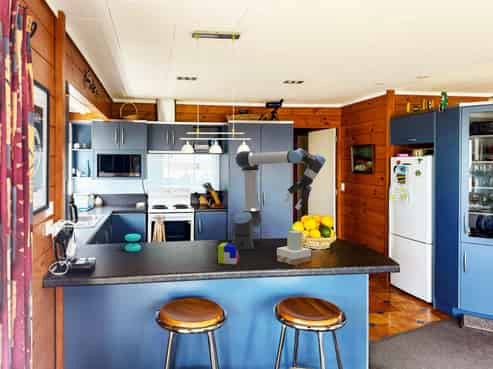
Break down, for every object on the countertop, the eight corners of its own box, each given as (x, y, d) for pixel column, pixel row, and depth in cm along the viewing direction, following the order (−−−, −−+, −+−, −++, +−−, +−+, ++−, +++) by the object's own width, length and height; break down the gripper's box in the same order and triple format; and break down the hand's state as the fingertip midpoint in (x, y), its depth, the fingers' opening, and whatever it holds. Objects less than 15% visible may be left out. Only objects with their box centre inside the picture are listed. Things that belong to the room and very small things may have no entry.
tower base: (277, 261, 242) (277, 254, 242) (293, 258, 252) (293, 251, 251) (294, 266, 232) (295, 259, 232) (310, 262, 241) (311, 255, 241)
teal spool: (124, 233, 268) (139, 233, 272) (124, 249, 269) (139, 248, 273) (125, 236, 259) (141, 235, 263) (125, 252, 260) (141, 251, 263)
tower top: (276, 254, 243) (277, 248, 242) (293, 251, 251) (294, 245, 251) (293, 259, 232) (293, 252, 231) (310, 256, 240) (311, 249, 240)
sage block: (287, 248, 242) (287, 231, 241) (295, 247, 245) (295, 230, 244) (293, 250, 237) (294, 233, 236) (301, 249, 240) (302, 232, 239)
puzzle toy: (235, 264, 234) (235, 246, 233) (218, 263, 236) (218, 246, 235) (239, 260, 243) (239, 243, 243) (222, 259, 245) (222, 242, 245)
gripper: (324, 185, 254) (305, 214, 254) (301, 174, 276) (284, 201, 276) (316, 179, 250) (297, 209, 250) (294, 169, 272) (277, 196, 272)
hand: (290, 205), depth 263 cm, fingers open, 13 cm apart
